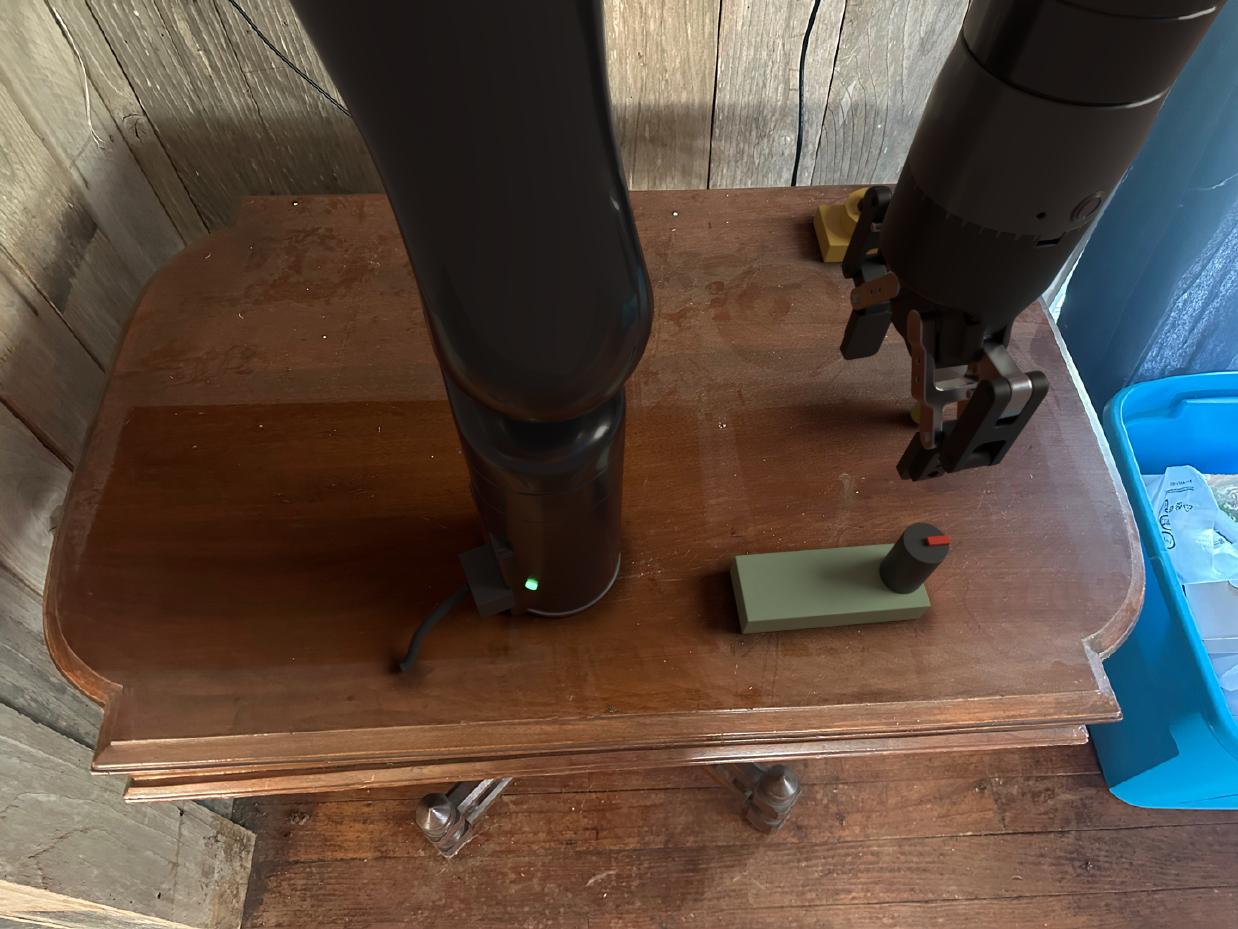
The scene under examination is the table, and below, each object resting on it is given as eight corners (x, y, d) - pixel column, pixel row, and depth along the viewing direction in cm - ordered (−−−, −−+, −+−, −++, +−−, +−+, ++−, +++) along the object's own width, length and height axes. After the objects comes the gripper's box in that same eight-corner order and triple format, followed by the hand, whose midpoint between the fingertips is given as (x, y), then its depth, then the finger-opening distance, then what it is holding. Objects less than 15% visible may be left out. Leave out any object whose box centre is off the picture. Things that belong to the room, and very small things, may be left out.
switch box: (824, 264, 74) (835, 231, 71) (812, 220, 77) (822, 187, 74) (923, 263, 74) (939, 230, 71) (907, 219, 78) (921, 186, 74)
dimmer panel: (741, 634, 53) (747, 621, 51) (729, 570, 56) (734, 555, 54) (918, 619, 54) (931, 606, 52) (898, 556, 57) (909, 541, 55)
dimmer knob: (885, 595, 52) (912, 563, 48) (873, 557, 54) (898, 522, 49) (927, 592, 52) (957, 559, 48) (914, 553, 54) (942, 518, 50)
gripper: (851, 73, 33) (782, 329, 46) (1006, 308, 25) (869, 531, 39) (1010, 53, 33) (896, 311, 47) (1207, 276, 26) (1003, 505, 40)
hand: (884, 410), depth 43 cm, fingers open, 8 cm apart
